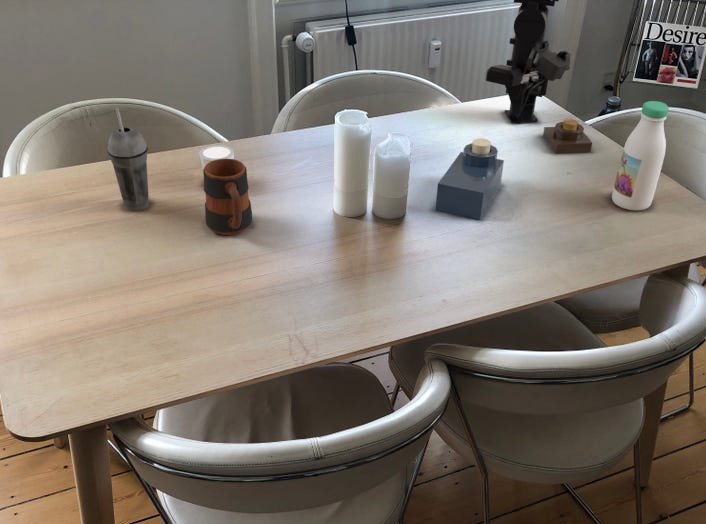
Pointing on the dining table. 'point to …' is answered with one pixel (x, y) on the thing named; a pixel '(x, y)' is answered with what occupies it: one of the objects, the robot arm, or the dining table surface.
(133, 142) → the beverage cup
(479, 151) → the white short cylinder
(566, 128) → the brass button
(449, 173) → the blue push button box
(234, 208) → the mug
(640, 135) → the milk bottle
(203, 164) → the shot glass
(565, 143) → the switch block
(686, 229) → the dining table surface
